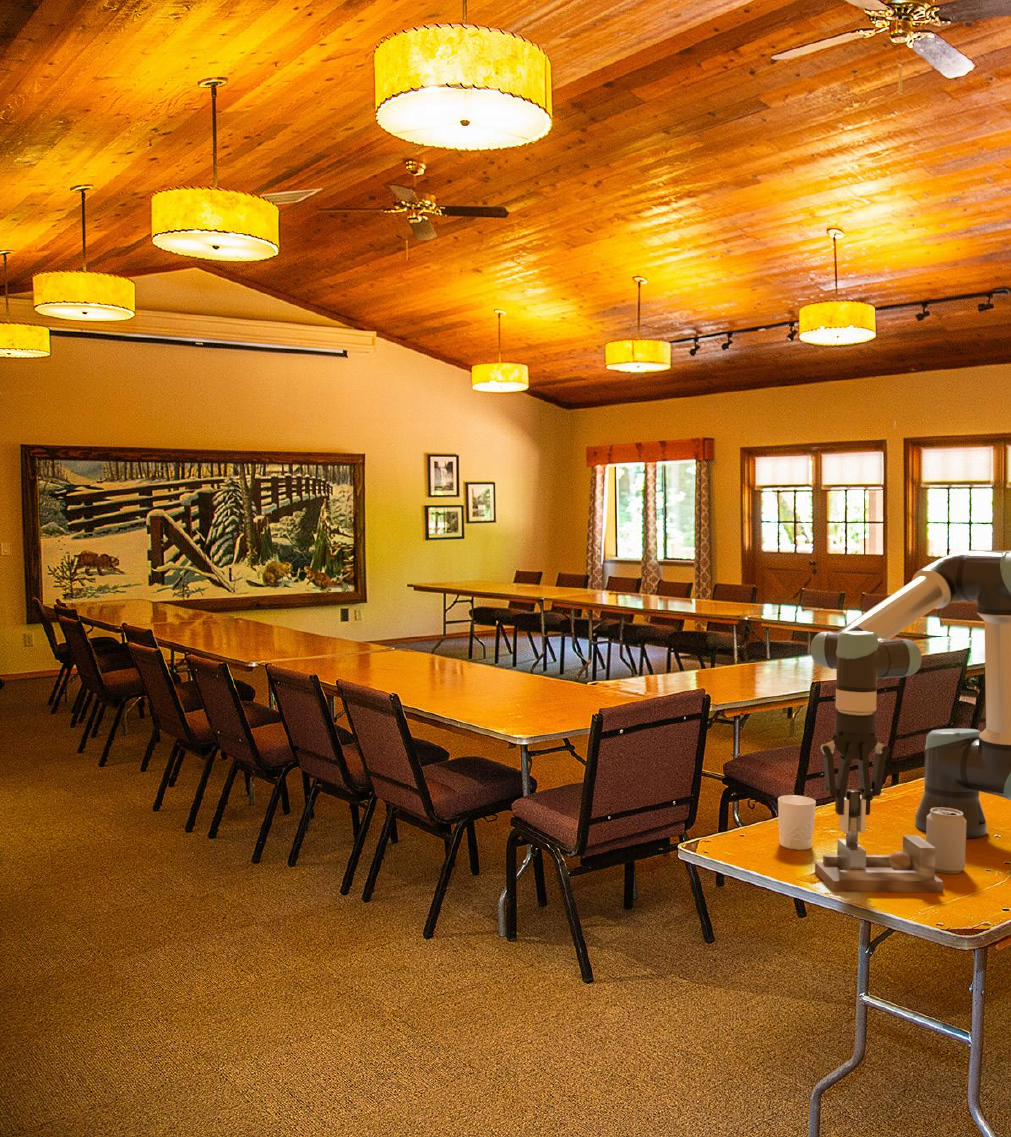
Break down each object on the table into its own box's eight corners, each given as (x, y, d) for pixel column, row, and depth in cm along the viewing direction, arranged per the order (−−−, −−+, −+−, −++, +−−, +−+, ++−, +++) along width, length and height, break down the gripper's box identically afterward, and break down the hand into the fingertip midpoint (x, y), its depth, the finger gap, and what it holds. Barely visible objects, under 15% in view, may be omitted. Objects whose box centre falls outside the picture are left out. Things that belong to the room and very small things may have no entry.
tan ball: (903, 870, 204) (908, 850, 204) (912, 877, 200) (916, 857, 200) (883, 866, 204) (888, 846, 204) (892, 873, 200) (896, 853, 200)
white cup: (816, 852, 220) (817, 805, 220) (777, 849, 222) (779, 803, 221) (812, 841, 228) (814, 796, 228) (775, 838, 229) (777, 794, 229)
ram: (852, 864, 206) (854, 786, 205) (865, 876, 198) (867, 796, 198) (837, 863, 205) (839, 786, 205) (850, 876, 198) (852, 796, 198)
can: (961, 877, 205) (963, 817, 205) (921, 870, 209) (923, 811, 209) (967, 867, 212) (969, 809, 211) (928, 860, 216) (930, 803, 215)
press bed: (918, 872, 208) (919, 833, 208) (943, 892, 197) (944, 850, 197) (814, 872, 207) (815, 832, 207) (833, 891, 196) (834, 849, 196)
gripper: (887, 708, 205) (884, 825, 206) (809, 707, 204) (806, 825, 205) (903, 715, 197) (899, 837, 198) (821, 714, 197) (818, 836, 198)
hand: (852, 830), depth 202 cm, fingers closed on ram, 3 cm apart
